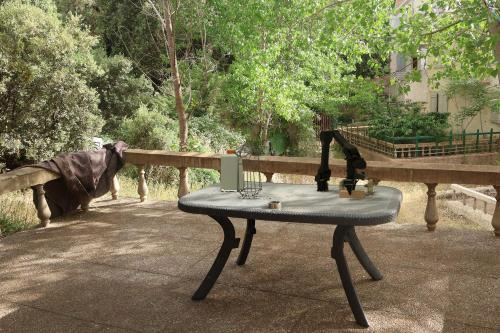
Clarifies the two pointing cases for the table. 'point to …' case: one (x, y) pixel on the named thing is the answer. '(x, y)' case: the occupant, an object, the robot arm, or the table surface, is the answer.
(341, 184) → the shelf frame
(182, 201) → the table surface
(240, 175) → the plastic bottle
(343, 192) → the tan rectangular block
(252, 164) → the geometric lantern
